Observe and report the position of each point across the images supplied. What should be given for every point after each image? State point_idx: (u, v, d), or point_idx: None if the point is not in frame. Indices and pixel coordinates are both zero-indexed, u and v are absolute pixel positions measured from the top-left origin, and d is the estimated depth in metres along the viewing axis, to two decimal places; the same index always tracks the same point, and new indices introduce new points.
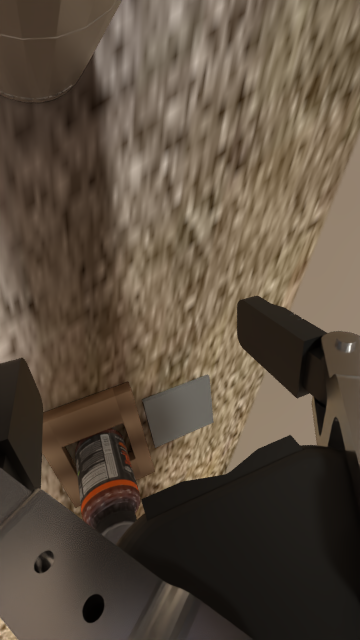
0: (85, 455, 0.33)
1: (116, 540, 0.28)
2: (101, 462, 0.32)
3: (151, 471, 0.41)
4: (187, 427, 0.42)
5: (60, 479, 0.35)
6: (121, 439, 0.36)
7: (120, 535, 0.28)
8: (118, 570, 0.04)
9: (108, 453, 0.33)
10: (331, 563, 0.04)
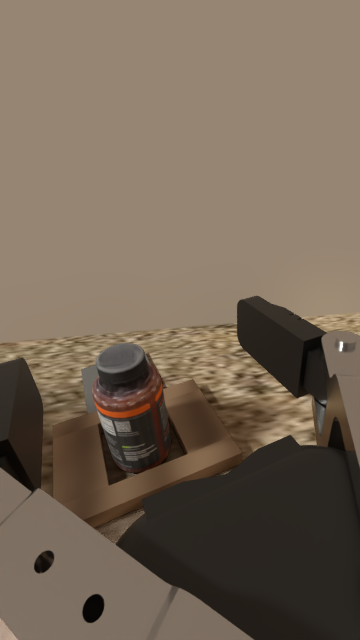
0: (111, 447, 0.26)
1: (125, 356, 0.24)
2: None
3: (191, 382, 0.35)
4: None
5: (172, 479, 0.25)
6: None
7: (118, 354, 0.24)
8: (119, 569, 0.04)
9: None
10: (331, 563, 0.04)
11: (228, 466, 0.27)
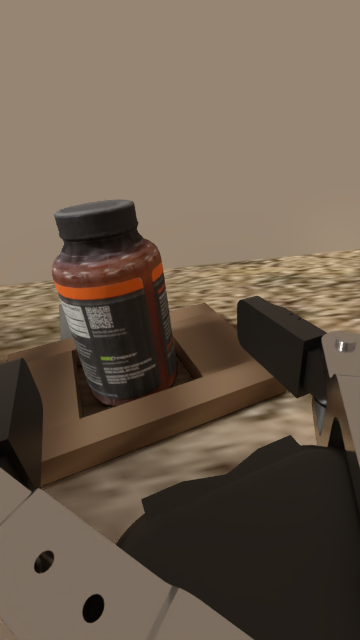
0: (86, 366, 0.17)
1: (102, 204, 0.15)
2: None
3: (203, 305, 0.26)
4: None
5: (180, 408, 0.16)
6: None
7: (91, 205, 0.15)
8: (119, 570, 0.04)
9: None
10: (331, 563, 0.04)
11: (265, 394, 0.17)
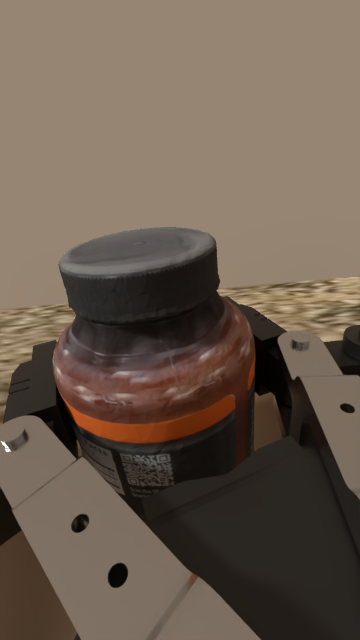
0: None
1: (155, 242, 0.07)
2: None
3: None
4: None
5: None
6: None
7: (131, 242, 0.08)
8: (143, 547, 0.04)
9: None
10: (330, 582, 0.04)
11: None
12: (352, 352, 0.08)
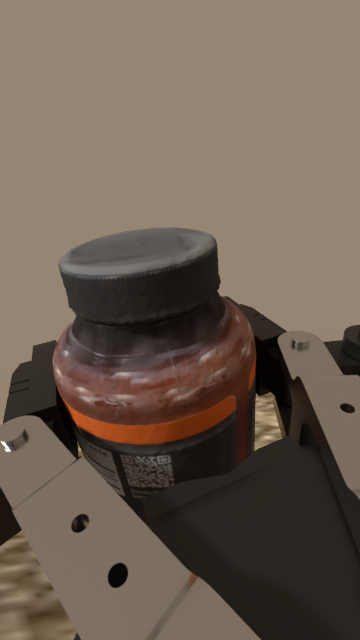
0: None
1: (155, 242, 0.07)
2: None
3: None
4: None
5: None
6: None
7: (132, 242, 0.08)
8: (143, 547, 0.04)
9: None
10: (330, 582, 0.04)
11: None
12: (352, 352, 0.08)
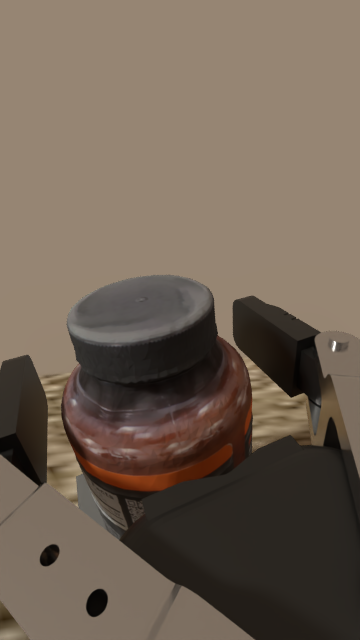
0: None
1: (156, 299, 0.08)
2: None
3: None
4: None
5: None
6: None
7: (134, 297, 0.08)
8: (122, 567, 0.04)
9: None
10: (331, 565, 0.04)
11: None
12: None
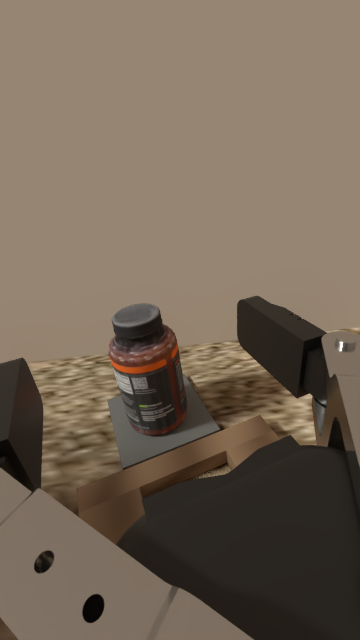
0: (129, 409, 0.26)
1: (140, 313, 0.24)
2: None
3: (259, 420, 0.26)
4: None
5: None
6: None
7: (133, 312, 0.24)
8: (118, 571, 0.04)
9: None
10: (331, 562, 0.04)
11: None
12: None
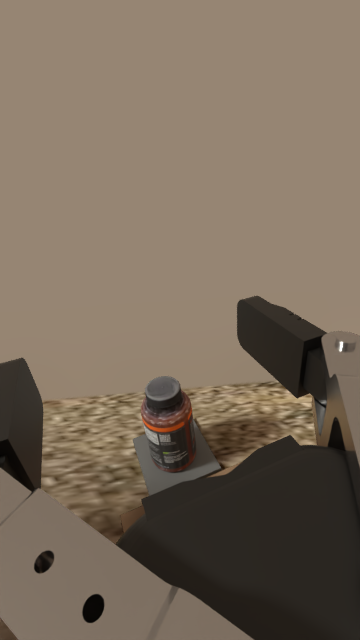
0: (154, 453, 0.35)
1: (166, 387, 0.33)
2: None
3: None
4: None
5: None
6: None
7: (161, 386, 0.33)
8: (119, 570, 0.04)
9: None
10: (331, 563, 0.04)
11: None
12: None
